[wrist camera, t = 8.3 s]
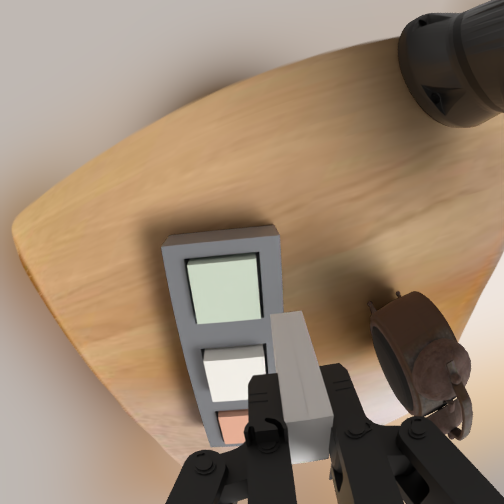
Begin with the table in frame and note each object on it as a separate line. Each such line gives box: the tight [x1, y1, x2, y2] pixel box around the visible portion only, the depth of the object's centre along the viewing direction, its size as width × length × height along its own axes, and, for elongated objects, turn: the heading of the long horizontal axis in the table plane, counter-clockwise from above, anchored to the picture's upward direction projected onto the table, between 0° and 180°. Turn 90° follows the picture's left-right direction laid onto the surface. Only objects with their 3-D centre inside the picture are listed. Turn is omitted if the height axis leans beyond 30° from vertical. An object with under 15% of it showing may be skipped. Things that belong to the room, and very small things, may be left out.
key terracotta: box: [218, 409, 248, 444], centre depth 38 cm, size 6×6×3 cm
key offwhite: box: [203, 344, 266, 402], centre depth 33 cm, size 6×6×3 cm
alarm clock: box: [367, 291, 473, 440], centre depth 28 cm, size 15×7×20 cm, turn 26°
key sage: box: [187, 252, 261, 324], centre depth 31 cm, size 6×6×3 cm
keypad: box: [161, 225, 284, 447], centre depth 35 cm, size 11×31×4 cm, turn 5°
